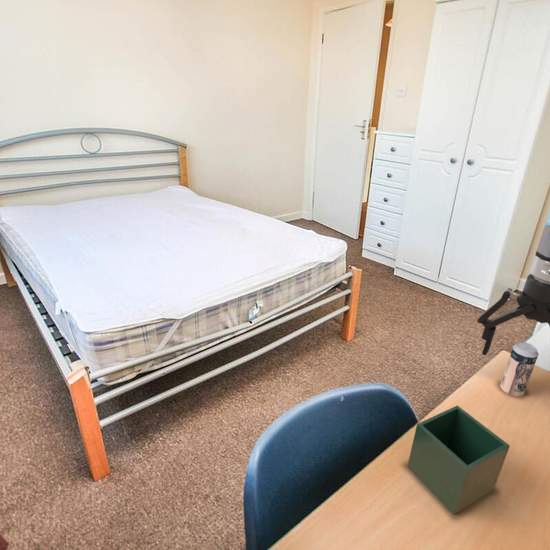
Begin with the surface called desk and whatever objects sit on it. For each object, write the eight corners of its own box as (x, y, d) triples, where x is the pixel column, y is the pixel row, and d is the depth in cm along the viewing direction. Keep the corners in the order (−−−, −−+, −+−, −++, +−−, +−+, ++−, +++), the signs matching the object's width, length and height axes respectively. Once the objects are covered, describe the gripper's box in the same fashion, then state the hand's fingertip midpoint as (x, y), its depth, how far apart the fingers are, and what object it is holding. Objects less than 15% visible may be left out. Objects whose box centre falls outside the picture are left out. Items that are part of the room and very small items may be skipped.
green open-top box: (445, 448, 72) (457, 405, 67) (492, 491, 64) (510, 445, 60) (406, 468, 68) (417, 423, 63) (452, 517, 60) (468, 469, 55)
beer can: (513, 400, 84) (529, 355, 79) (494, 387, 88) (509, 343, 83) (528, 394, 86) (544, 350, 81) (509, 381, 90) (523, 339, 85)
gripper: (477, 265, 81) (454, 348, 89) (631, 307, 65) (585, 402, 74) (488, 256, 86) (465, 336, 94) (632, 293, 71) (589, 384, 79)
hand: (518, 365), depth 84 cm, fingers open, 13 cm apart
